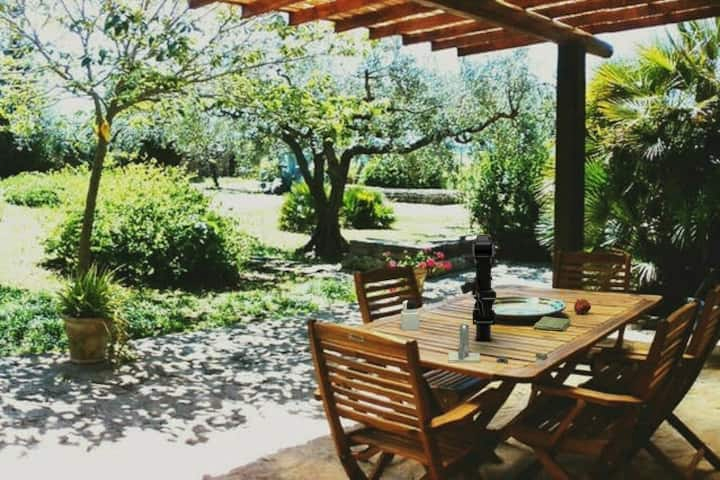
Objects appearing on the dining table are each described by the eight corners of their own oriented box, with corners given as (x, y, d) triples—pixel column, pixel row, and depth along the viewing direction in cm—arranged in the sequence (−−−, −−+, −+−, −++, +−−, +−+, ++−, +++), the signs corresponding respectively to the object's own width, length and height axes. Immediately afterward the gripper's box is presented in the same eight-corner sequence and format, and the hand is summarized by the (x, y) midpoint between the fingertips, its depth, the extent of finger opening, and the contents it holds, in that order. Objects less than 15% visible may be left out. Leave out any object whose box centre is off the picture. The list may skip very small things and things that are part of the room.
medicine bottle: (417, 326, 312) (417, 299, 311) (419, 330, 305) (419, 301, 304) (401, 327, 312) (400, 299, 311) (402, 330, 305) (402, 302, 304)
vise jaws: (494, 360, 253) (494, 356, 253) (542, 356, 257) (542, 352, 257) (500, 363, 248) (500, 360, 248) (549, 359, 253) (549, 356, 252)
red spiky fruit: (593, 319, 330) (585, 303, 337) (595, 309, 325) (587, 293, 332) (577, 322, 330) (570, 305, 337) (579, 311, 325) (572, 295, 332)
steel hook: (461, 354, 258) (460, 324, 258) (469, 355, 257) (469, 324, 256) (456, 359, 252) (455, 328, 251) (465, 360, 251) (465, 328, 250)
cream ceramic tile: (448, 354, 262) (448, 352, 262) (479, 354, 261) (479, 352, 261) (448, 362, 252) (448, 359, 252) (480, 362, 250) (480, 360, 250)
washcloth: (531, 330, 302) (532, 323, 301) (542, 322, 317) (542, 315, 317) (563, 333, 295) (563, 325, 295) (572, 325, 311) (572, 317, 311)
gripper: (458, 273, 277) (458, 314, 277) (465, 275, 258) (465, 318, 258) (487, 273, 277) (487, 314, 277) (496, 274, 258) (496, 318, 258)
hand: (483, 316), depth 267 cm, fingers open, 9 cm apart
